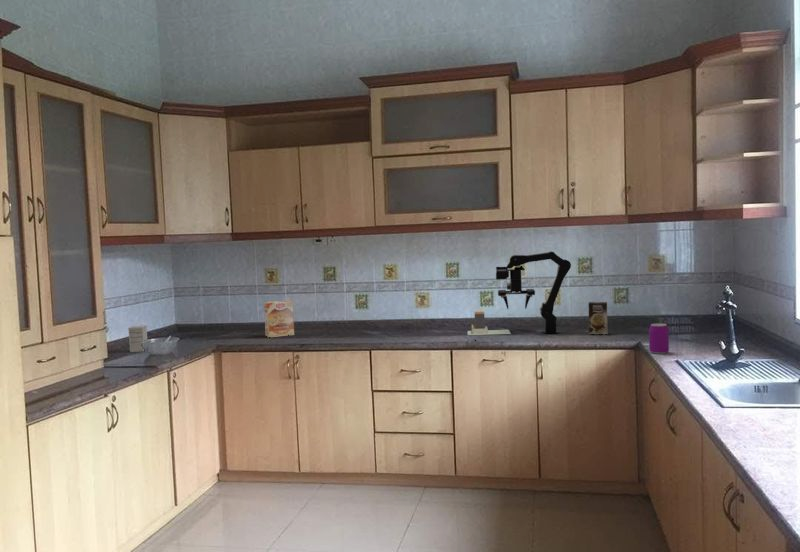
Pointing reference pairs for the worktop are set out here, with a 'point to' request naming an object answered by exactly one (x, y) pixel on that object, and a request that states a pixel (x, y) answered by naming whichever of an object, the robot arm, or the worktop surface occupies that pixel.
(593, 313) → the coffee box
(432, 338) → the worktop surface
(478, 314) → the plug
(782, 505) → the worktop surface
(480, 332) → the board
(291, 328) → the coffeecake box
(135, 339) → the supplement box
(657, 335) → the beverage can
